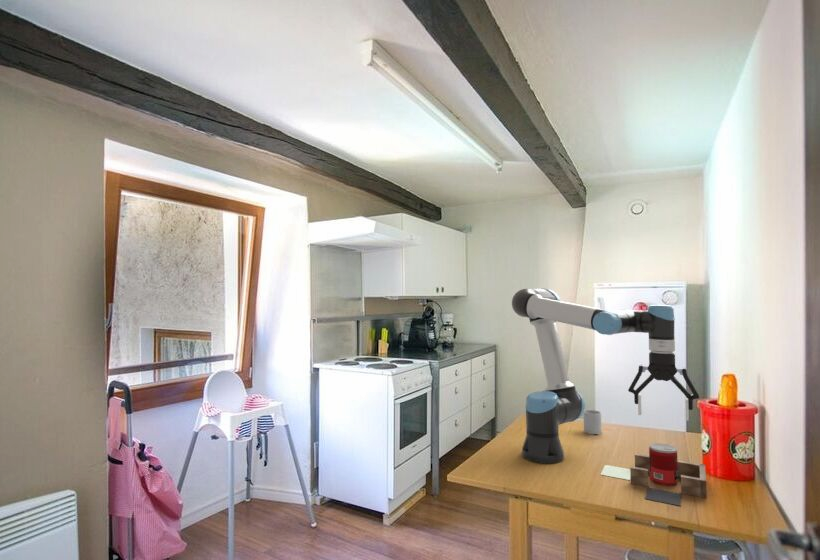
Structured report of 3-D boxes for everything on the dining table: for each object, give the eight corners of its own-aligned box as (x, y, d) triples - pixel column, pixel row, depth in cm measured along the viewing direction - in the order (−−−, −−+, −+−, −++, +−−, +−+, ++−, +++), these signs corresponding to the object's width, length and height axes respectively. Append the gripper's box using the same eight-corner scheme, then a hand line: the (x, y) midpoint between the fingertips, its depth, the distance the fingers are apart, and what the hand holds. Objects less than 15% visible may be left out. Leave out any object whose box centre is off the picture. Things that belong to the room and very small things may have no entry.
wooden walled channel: (630, 483, 146) (630, 467, 146) (635, 468, 159) (635, 453, 159) (706, 498, 136) (706, 481, 136) (705, 480, 148) (704, 464, 148)
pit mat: (645, 499, 135) (645, 498, 135) (647, 487, 143) (647, 487, 143) (680, 506, 130) (680, 505, 130) (681, 494, 138) (681, 493, 138)
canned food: (681, 487, 143) (680, 451, 144) (654, 485, 145) (653, 450, 145) (672, 477, 151) (672, 443, 151) (646, 475, 152) (646, 442, 153)
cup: (581, 432, 200) (580, 412, 201) (591, 427, 207) (591, 408, 207) (597, 436, 195) (596, 415, 195) (607, 431, 202) (606, 410, 202)
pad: (600, 474, 153) (600, 474, 153) (605, 465, 162) (605, 464, 162) (629, 480, 149) (629, 479, 149) (633, 470, 157) (633, 469, 157)
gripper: (619, 350, 153) (620, 414, 152) (707, 355, 140) (709, 425, 140) (621, 348, 159) (622, 409, 159) (706, 352, 147) (707, 419, 146)
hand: (663, 416), depth 149 cm, fingers open, 13 cm apart
